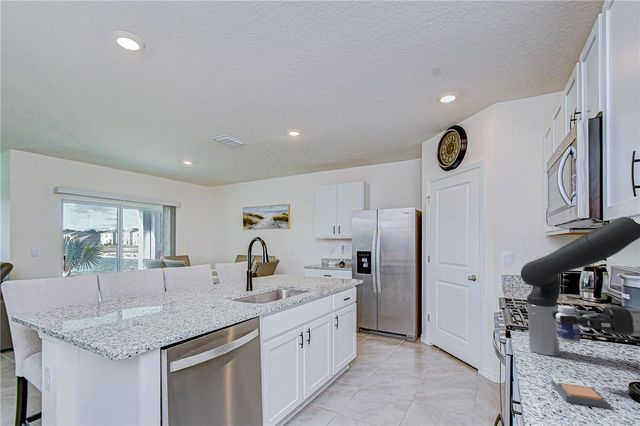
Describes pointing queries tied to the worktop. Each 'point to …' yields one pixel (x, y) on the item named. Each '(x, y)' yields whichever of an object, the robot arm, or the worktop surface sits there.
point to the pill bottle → (567, 326)
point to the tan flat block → (578, 392)
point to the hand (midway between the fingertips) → (556, 317)
